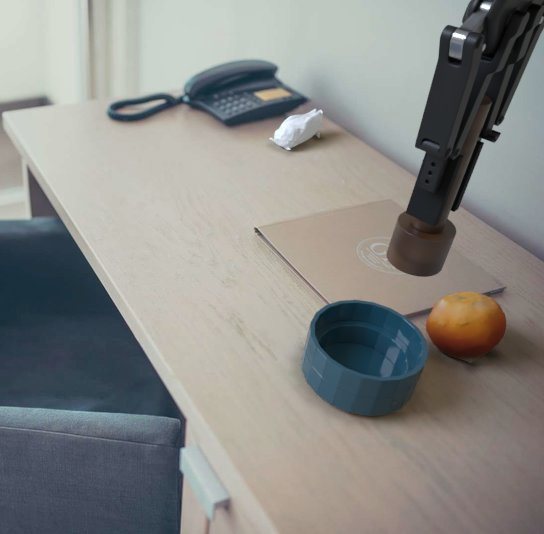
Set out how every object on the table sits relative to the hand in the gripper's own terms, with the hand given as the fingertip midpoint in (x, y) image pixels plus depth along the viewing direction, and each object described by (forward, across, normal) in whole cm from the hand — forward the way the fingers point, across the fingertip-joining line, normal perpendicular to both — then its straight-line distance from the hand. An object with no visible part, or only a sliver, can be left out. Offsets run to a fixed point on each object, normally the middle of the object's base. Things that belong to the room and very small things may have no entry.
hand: (432, 210), depth 56 cm
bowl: (+23, 0, -2) cm, 23 cm away
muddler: (+6, 0, 0) cm, 6 cm away
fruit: (+23, -13, +3) cm, 27 cm away
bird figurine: (+23, -40, -41) cm, 62 cm away
